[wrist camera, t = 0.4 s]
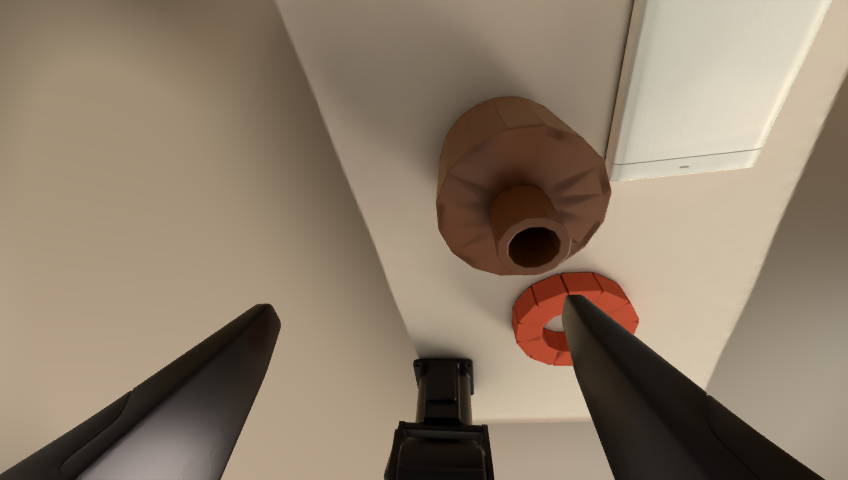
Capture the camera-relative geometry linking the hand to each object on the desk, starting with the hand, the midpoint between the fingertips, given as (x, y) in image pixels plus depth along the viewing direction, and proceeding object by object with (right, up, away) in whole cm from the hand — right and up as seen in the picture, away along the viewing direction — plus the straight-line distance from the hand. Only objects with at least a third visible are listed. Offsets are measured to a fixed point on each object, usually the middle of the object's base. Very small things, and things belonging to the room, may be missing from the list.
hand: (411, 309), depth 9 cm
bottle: (+6, +7, +11) cm, 15 cm away
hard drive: (+15, +12, +8) cm, 21 cm away
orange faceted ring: (+14, -5, +19) cm, 24 cm away
